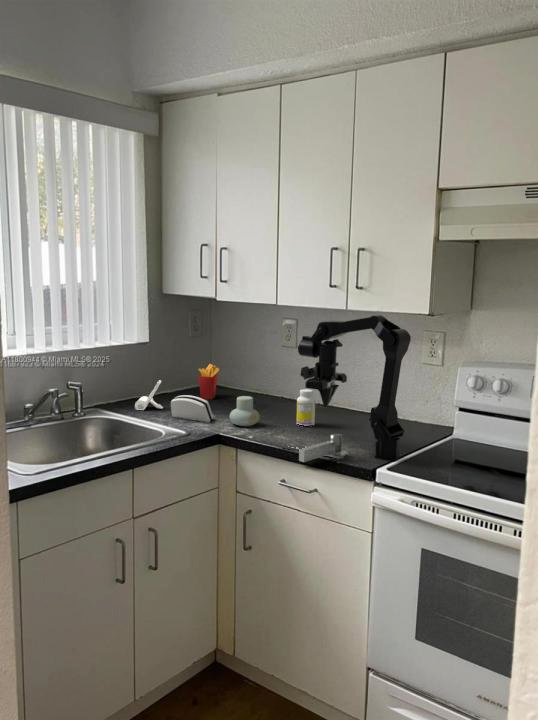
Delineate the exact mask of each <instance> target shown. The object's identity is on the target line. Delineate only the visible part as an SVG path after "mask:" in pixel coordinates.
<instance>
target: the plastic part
mask: <svg viewBox="0 0 538 720" xmlns="http://www.w3.org/2000/svg"><path fill="white" fill-rule="evenodd" d="M161 383H162V380H160V379H159V380H158V381H157V382H156V384H155V386H154V387H153V390H151V392H150V394H149V396H145V395H144V396H141V397H140V398H139V399H138V400H137V401H135V404H134V408H135V410H136V411H137V410H143V411H144V410H146V408H147V407H148V405H149V403H150V404H152V406H153V407H155V409H158V410H159V409H164V407H163V406H162V405H161V404H160V403H157V402H156V401H155V400H154V398H153V397H154V395H155V394H156V392H157V390H158V389H159V387H160V385H161Z"/></svg>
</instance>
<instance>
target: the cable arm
mask: <svg viewBox="0 0 538 720" xmlns="http://www.w3.org/2000/svg"><path fill="white" fill-rule="evenodd" d="M329 435H330V436H329V437H330V439H329V440H327V441H326V440H325V441H323V442H319V443H316V444H313V445H309V446H305V448H302V449H299V452H298V461H299V462H302V463H306V462H310V461H313V460H316V459H319V458H322V457H323V456H326V455H329V454H332V453H339V452H341V451H343V450H342V448H343V447H342V446H343V434H341V433H331V434H329Z"/></svg>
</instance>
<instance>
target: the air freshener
mask: <svg viewBox="0 0 538 720" xmlns="http://www.w3.org/2000/svg"><path fill="white" fill-rule="evenodd" d="M229 420H230V421H231V423H233V424H234V425H236V426H238V425H239V427H252V426H254V425H256V424H257V423H258V422H259V420H260V413H259V412H258V411H257V410H256V409H254V397H252V396H250V395H249V396H248V395H247V396H246V395H242V396H241V395H240V396H237V398H236V408H235V409H233V410H231V411H230V413H229ZM251 425H252V426H251Z"/></svg>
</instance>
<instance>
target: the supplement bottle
mask: <svg viewBox="0 0 538 720" xmlns="http://www.w3.org/2000/svg"><path fill="white" fill-rule="evenodd" d="M313 394H314V389H310V388H305V389H300V390H299V395H300V396H298V397H297V399H296V425H297V424H299V425H304V426H309V425H313V426H315V422H316V419H315V418H316V398H315V397H313ZM299 425H298V426H299Z"/></svg>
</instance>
